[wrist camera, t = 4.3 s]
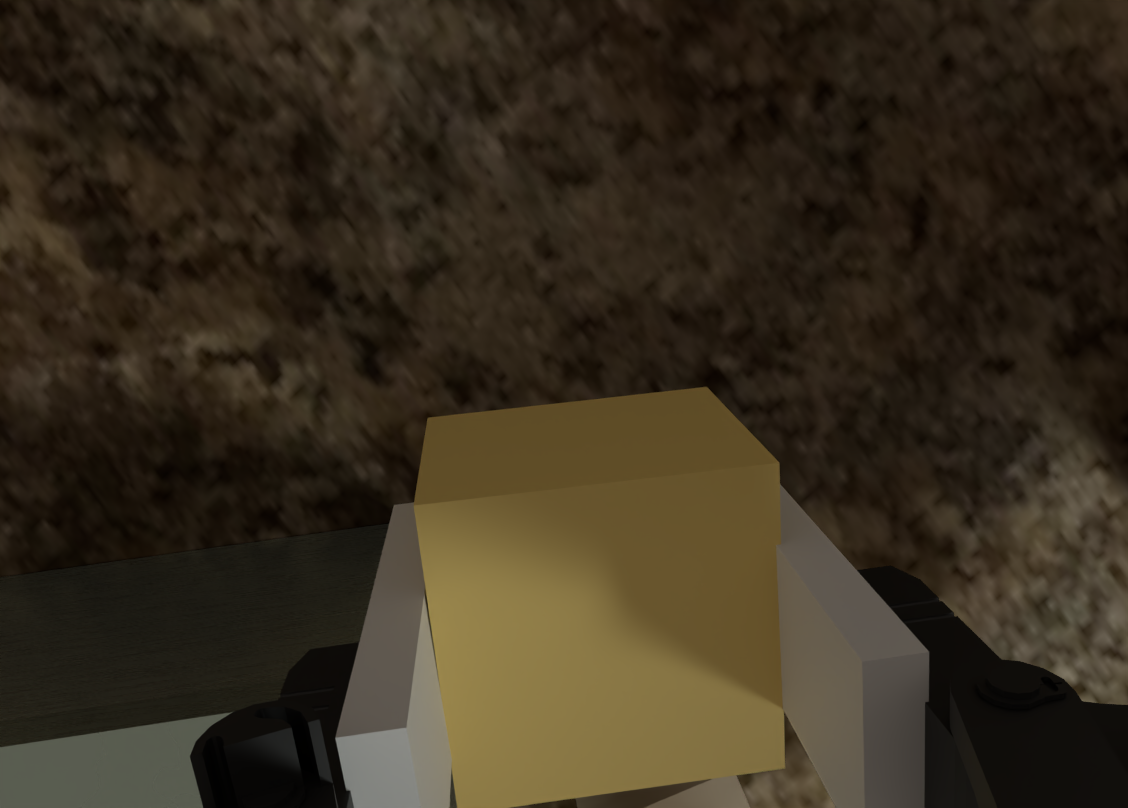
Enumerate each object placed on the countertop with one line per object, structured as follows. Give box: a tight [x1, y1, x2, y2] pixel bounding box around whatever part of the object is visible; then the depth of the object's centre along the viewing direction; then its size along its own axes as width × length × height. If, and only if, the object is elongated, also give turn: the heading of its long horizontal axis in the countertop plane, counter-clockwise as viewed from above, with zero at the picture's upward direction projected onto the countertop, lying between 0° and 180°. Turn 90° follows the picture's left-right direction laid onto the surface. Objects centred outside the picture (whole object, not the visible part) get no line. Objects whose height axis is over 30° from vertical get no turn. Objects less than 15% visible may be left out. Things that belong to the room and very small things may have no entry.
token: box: [414, 387, 785, 808], centre depth 15 cm, size 5×5×4 cm
